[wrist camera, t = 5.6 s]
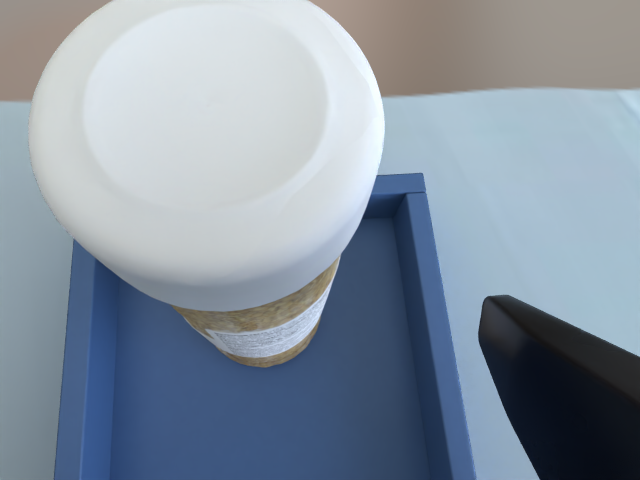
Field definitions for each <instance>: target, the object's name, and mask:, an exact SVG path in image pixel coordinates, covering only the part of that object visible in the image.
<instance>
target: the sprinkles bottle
mask: <svg viewBox="0 0 640 480" xmlns="http://www.w3.org/2000/svg"><path fill="white" fill-rule="evenodd" d="M384 134H385V119H384V110H383V103H382V99H381V95H380V91H379V88H378V85H377V82H376V79H375V76H374V74H373V72H372V69H371V67H370V65H369V63H368V61H367V59H366V57H365V56H364V54H363V53H362V51H361V49H360V48H359V46H358V45H357V44H356V42H355V41H354V40H353V39H352V37H351V36H350V35H349V34H348V33H347V32H346V31H345V30H344V29H343V27H342V26H341V25H340V24H339V23H338V22H337V21H336V20H334V19H333V18H332V17H331V16H329V15H328V14H327V13H326V12H324V11H323V10H322V9H320V8H319V7H317V6H316V5H314V4H313V3H311V2H310V1H308V0H113V1H111V2H109V3H108V4H106V5H104V6H103V7H101V8H100V9H98V10H97V11H96V12H94V13H92V14H91V15H90V16H89V17H88V18H86V19H85V20H84V21H83V22H82V23H81V24H79V25H78V26H77V27H76V28H75V29H74V30H73V31H72V33H71V34H69V36H68V37H67V38H66V39H65V40H64V41H63V42H62V43H61V45H60V46H59V47H58V49H57V50H56V52H55V53H54V54H53V56H52V57H51V59H50V61H49V62H48V64H47V65H46V67H45V69H44V71H43V73H42V75H41V78H40V80H39V82H38V86H37V87H36V90H35V93H34V96H33V100H32V104H31V109H30V114H29V123H28V144H29V154H30V160H31V166H32V169H33V172H34V176H35V179H36V181H37V184H38V186H39V189H40V191H41V193H42V196H43V198H44V200H45V201H46V203H47V205H48V206H49V208H50V209H51V211H52V212H53V214H54V216H55V217H56V219H57V221H58V222H59V223H60V224H61V225H62V226H63V228H64V229H65V230H66V231H67V232H68V233H69V234H70V235H71V236H72V237H73V238H74V239H75V240H76V241H77V242H78V243H79V244H80V245H81V246H82V247H83V248H84V249H85V250H87V251H88V252H89V253H90V254H91V255H93V256H94V257H95V258H96V259H98V260H99V261H100V262H101V263H102V264H104V265H105V266H106V267H107V268H109V269H110V270H111V271H113V272H114V273H115V274H116V275H118V276H119V277H120V278H121V279H123V280H124V281H126V282H127V283H129V284H130V285H132V286H133V287H135V288H136V289H138V290H139V291H141V292H143V293H145V294H147V295H148V296H150V297H152V298H155V299H157V300H160V301H162V302H165V303H168V304H170V305H171V306H172V307H173V308H174V309H175V310H176V311H177V312H179V313H180V314H181V315H182V316H183V317H184V318H185V320H186V321H187V322H188V323H189V324H190V325H191V326H192V327H193V328H194V329H195V330H196V331H198V332H199V333H200V334H201V335H203V336H204V337H205V338H206V339H208V340H209V341H210V342H211V343H213V344H214V345H215V346H216V348H217V349H218V350H219V351H220V352H221V353H223V354H224V355H226V356H227V357H228V358H230V359H231V360H233V361H236V362H238V363H240V364H244V365H247V366H256V367H270V366H273V365H277V364H282V363H284V362H286V361H288V360H290V359H292V358H294V357H295V356H297V355H298V354H299V353H300V352H302V351H303V350H304V349H305V348H306V347H307V346H308V344H309V343H310V341H311V339H312V338H313V336H314V335H315V333H316V331H317V328H318V325H319V322H320V319H321V313H322V310H323V308H324V305H325V302H326V300H327V297H328V294H329V291H330V288H331V285H332V282H333V279H334V276H335V274H336V271H337V268H338V264H339V260H340V256H341V253H342V252H343V250H344V249H345V248H346V246H347V245H348V243H349V241H350V240H351V238H352V236H353V235H354V233H355V231H356V230H357V228H358V226H359V224H360V221H361V219H362V216H363V214H364V212H365V209H366V207H367V204H368V201H369V198H370V195H371V192H372V189H373V185H374V182H375V179H376V176H377V172H378V169H379V165H380V160H381V156H382V151H383V143H384Z"/></svg>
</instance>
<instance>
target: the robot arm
mask: <svg viewBox="0 0 640 480" xmlns="http://www.w3.org/2000/svg"><path fill="white" fill-rule="evenodd" d="M478 338H479V344H480V347H481V349H482V352H483V355H484V357H485V360H486V362H487V365H488V368H489V370H490V373H491V375H492V378H493V381H494V383H495V386H496V388H497V391H498V394H499V396H500V399H501V401H502V404H503V406H504V409H505V411H506V414H507V416H508V418H509V420H510V422H511V424H512V426H513V428H514V430H515V432H516V434H517V436H518V438H519V440H520V442H521V444H522V446H523V448H524V450H525V452H526V454H527V455H528V457H529V459H530V461H531V463H532V465H533V467H534V469H535V471H536V473H537V475H538V477H539V479H540V480H640V357H639V356H637V355H635V354H633V353H630V352H628V351H626V350H624V349H622V348H620V347H618V346H616V345H613V344H611V343H609V342H607V341H605V340H603V339H601V338H599V337H596V336H594V335H592V334H590V333H588V332H586V331H584V330H582V329H579V328H577V327H575V326H573V325H571V324H569V323H567V322H565V321H562V320H560V319H558V318H556V317H554V316H552V315H550V314H548V313H546V312H543V311H541V310H539V309H537V308H535V307H533V306H531V305H529V304H526V303H524V302H522V301H520V300H518V299H516V298H514V297H512V296H509V295H496V296H488V297H486V298H485V299H484V302H483V305H482V312H481V318H480V325H479V331H478Z"/></svg>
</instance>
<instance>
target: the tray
mask: <svg viewBox="0 0 640 480" xmlns="http://www.w3.org/2000/svg"><path fill="white" fill-rule="evenodd" d="M425 192H426V188H425V182H424V177H423V173H413V174H394V175H377V176H376V179H375V182H374V185H373V189H372V192H371V195H370V198H369V201H368V204H367V207H366V209H365V212H364V214H363V216H362V219H361V221H360V224H359V226H358V228H357V230H356V231H355V233H354V235H353V236H352V238H351V240H350V241H349V243H348V245H347V246H346V248H345V249H344V250H343V252H342V253H341V256H340V260H339V264H338V268H337V271H336V274H335V276H334V279H333V282H332V285H331V288H330V291H329V294H328V297H327V300H326V302H325V305H324V308H323V310H322V313H321V319H320V322H319V325H318V328H317V331H316V333H315V335H314V336H313V338H312V339H311V341H310V343H309V344H308V346H307V347H306V348H305V349H304V350H303V351H302V352H300V353H299V354H298V355H297V356H295V357H294V358H292V359H290V360H288V361H286V362H284V363H282V364H277V365H273V366H270V367H256V366H247V365H244V364H240V363H238V362H236V361H233V360H231V359H230V358H228V357H227V356H226V355H224V354H223V353H221V352H220V351H219V350H218V349H217V348H216V346H215V345H214V344H213V343H211V342H210V341H209V340H208V339H206V338H205V337H204V336H203V335H201V334H200V333H199V332H198V331H196V330H195V329H194V328H193V327H192V326H191V325H190V324H189V323H188V322H187V321H186V320H185V318H184V317H183V316H182V315H181V314H180V313H179V312H177V311H176V310H175V309H174V308H173V307H172V306H171V305H170V304H168V303H165V302H162V301H160V300H157V299H155V298H152V297H150V296H148V295H147V294H145V293H143V292H141V291H139V290H138V289H136V288H135V287H133V286H132V285H130V284H129V283H127V282H126V281H124V280H123V279H121V278H120V277H119V276H118V275H116V274H115V273H114V272H113V271H111V270H110V269H109V268H107V267H106V266H105V265H104V264H102V263H101V262H100V261H99V260H98V259H96V258H95V257H94V256H93V255H91V254H90V253H89V252H88V251H87V250H85V249H84V248H83V247H82V246H81V245H80V244H79V243H78V242H77V241H76V240H75V239H74V242H73V254H72V266H71V278H70V290H69V302H68V314H67V326H66V338H65V350H64V362H63V374H62V386H61V399H60V411H59V423H58V435H57V447H56V459H55V471H54V480H477V479H476V474H475V468H474V462H473V457H472V451H471V445H470V439H469V434H468V428H467V422H466V417H465V411H464V405H463V400H462V394H461V388H460V382H459V377H458V371H457V365H456V360H455V354H454V348H453V342H452V337H451V331H450V325H449V320H448V314H447V308H446V303H445V297H444V291H443V285H442V280H441V274H440V268H439V263H438V257H437V251H436V245H435V240H434V234H433V228H432V223H431V217H430V211H429V205H428V200H427V194H426V193H425Z"/></svg>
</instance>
